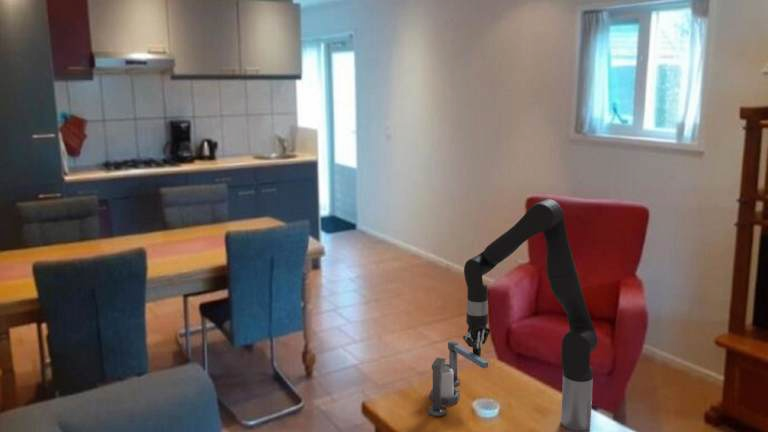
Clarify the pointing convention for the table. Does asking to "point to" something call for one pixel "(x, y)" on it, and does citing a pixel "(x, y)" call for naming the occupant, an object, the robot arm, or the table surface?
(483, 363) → the swing arm
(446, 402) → the collar
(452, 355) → the pivot post
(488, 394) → the table surface
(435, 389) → the dark grey piece
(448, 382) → the can
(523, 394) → the table surface
